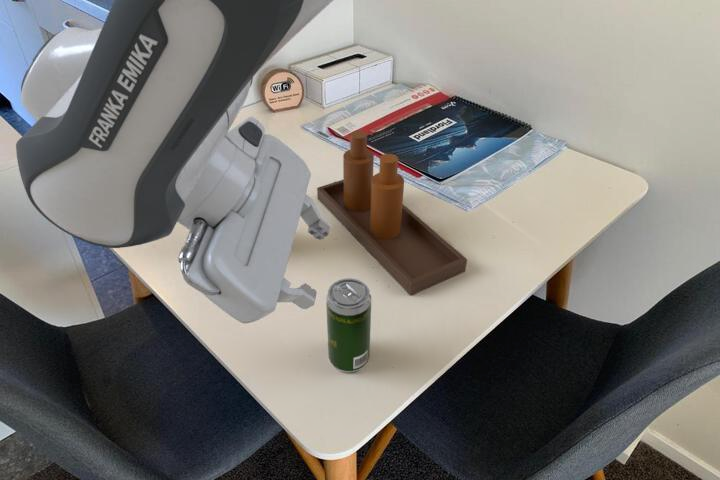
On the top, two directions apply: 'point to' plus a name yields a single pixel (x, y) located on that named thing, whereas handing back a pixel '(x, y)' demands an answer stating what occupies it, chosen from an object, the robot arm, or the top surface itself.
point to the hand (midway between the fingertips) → (319, 265)
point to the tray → (399, 244)
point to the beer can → (348, 324)
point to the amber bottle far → (358, 173)
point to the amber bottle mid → (386, 199)
